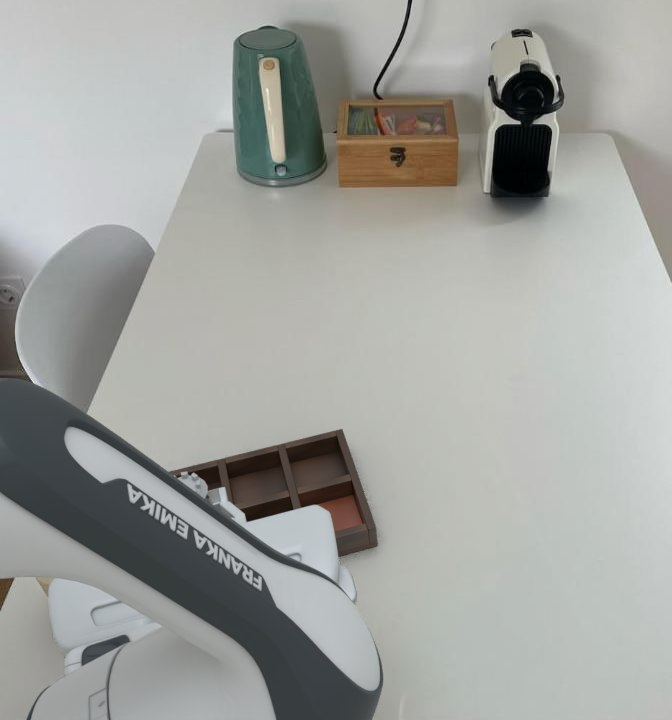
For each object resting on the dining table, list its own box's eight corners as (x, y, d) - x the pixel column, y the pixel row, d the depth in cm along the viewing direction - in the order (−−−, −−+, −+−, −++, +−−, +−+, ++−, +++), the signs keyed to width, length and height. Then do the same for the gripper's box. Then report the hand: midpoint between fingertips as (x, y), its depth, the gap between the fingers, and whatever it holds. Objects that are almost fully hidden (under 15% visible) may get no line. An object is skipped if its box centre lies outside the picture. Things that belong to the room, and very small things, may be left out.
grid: (174, 602, 75) (166, 584, 73) (162, 493, 85) (154, 474, 83) (378, 546, 79) (376, 527, 77) (344, 447, 89) (342, 428, 86)
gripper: (361, 590, 53) (315, 441, 63) (36, 683, 49) (42, 508, 59) (367, 638, 58) (323, 492, 67) (68, 727, 54) (69, 557, 63)
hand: (190, 500), depth 63 cm, fingers closed on rook chess piece, 3 cm apart
